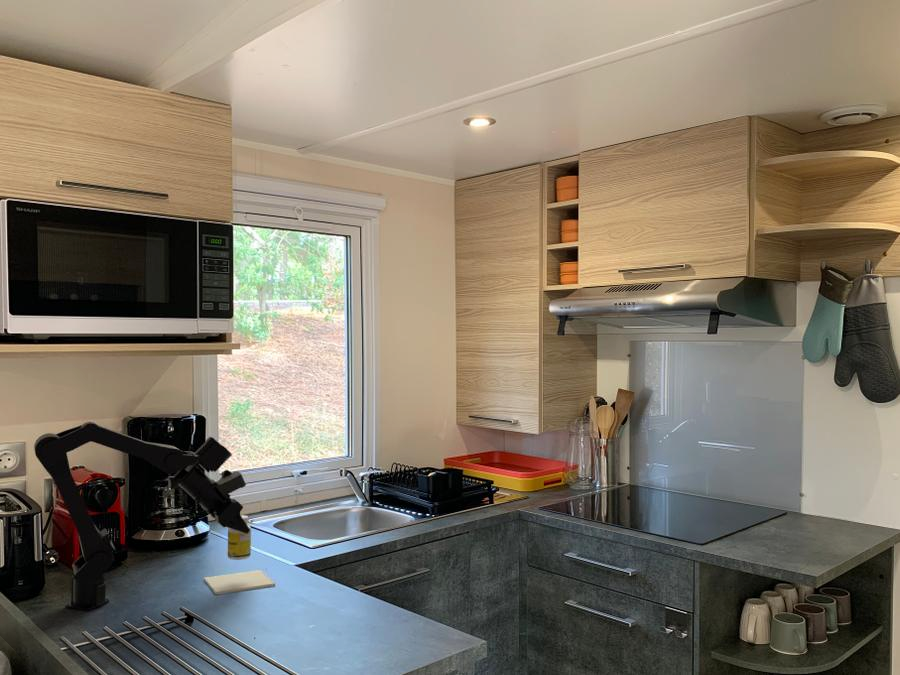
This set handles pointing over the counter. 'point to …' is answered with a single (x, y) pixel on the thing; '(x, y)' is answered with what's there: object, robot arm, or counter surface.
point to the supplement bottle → (239, 543)
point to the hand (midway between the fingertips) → (245, 529)
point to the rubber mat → (238, 582)
